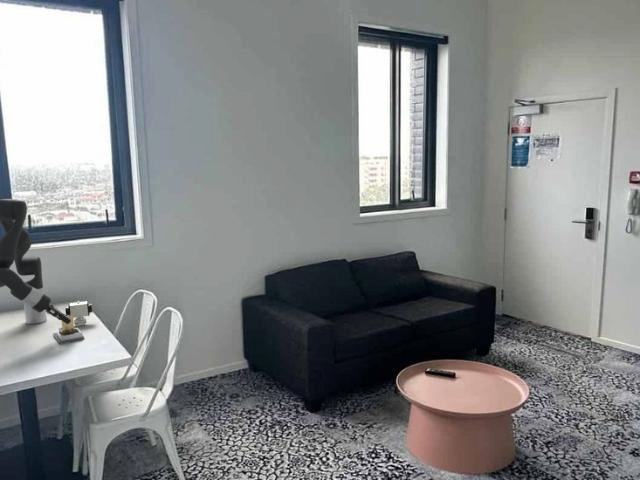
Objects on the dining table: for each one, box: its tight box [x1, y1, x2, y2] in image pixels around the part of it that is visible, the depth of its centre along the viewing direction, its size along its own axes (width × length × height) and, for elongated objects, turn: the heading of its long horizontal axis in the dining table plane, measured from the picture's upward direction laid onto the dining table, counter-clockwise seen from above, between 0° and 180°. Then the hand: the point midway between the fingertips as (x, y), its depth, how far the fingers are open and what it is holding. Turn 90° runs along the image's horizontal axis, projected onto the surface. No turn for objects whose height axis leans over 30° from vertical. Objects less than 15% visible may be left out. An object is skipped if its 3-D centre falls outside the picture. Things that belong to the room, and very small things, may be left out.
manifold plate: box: [52, 327, 85, 345], centre depth 237 cm, size 15×10×3 cm, turn 37°
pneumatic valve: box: [64, 300, 93, 327], centre depth 256 cm, size 6×12×12 cm, turn 114°
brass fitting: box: [60, 316, 75, 336], centre depth 235 cm, size 5×5×9 cm
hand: (67, 320), depth 234 cm, fingers open, 8 cm apart
